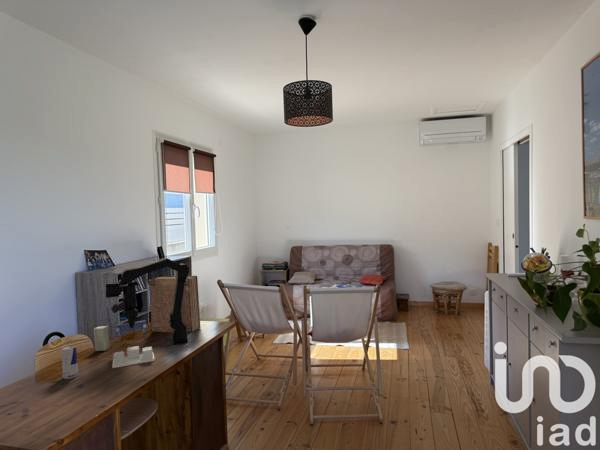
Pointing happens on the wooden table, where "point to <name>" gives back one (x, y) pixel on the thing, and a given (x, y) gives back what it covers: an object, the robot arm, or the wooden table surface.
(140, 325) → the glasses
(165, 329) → the book
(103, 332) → the box
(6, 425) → the wooden table surface
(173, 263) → the robot arm
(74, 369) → the energy drink
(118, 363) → the display stand
